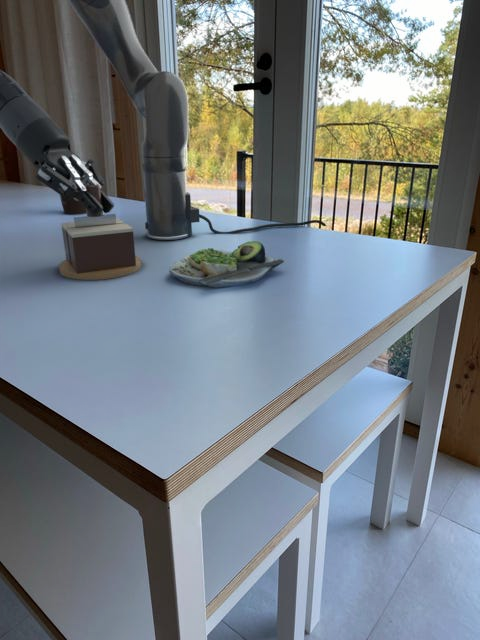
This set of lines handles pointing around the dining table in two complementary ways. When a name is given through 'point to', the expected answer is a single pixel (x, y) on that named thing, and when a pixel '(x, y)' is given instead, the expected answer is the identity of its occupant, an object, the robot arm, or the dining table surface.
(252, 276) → the salad plate
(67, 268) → the cake
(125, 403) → the dining table surface
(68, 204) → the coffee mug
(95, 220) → the cake cutter
